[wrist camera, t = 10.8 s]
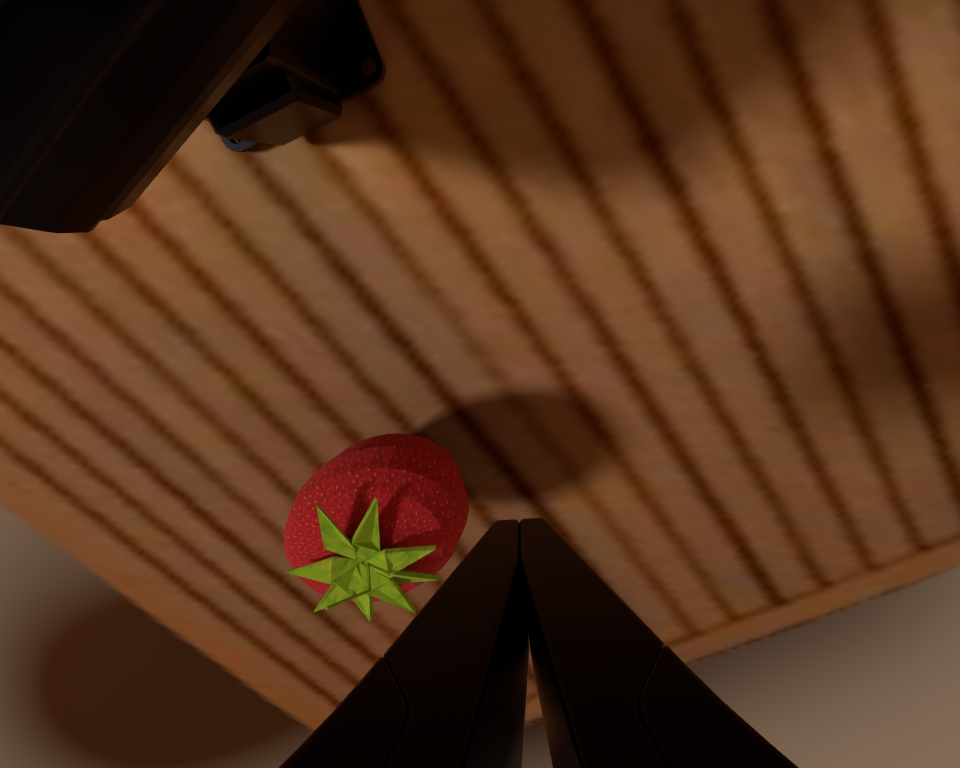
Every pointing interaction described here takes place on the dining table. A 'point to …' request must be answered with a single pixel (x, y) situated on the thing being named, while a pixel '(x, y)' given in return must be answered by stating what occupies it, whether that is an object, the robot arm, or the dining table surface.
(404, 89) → the dining table surface
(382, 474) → the strawberry
